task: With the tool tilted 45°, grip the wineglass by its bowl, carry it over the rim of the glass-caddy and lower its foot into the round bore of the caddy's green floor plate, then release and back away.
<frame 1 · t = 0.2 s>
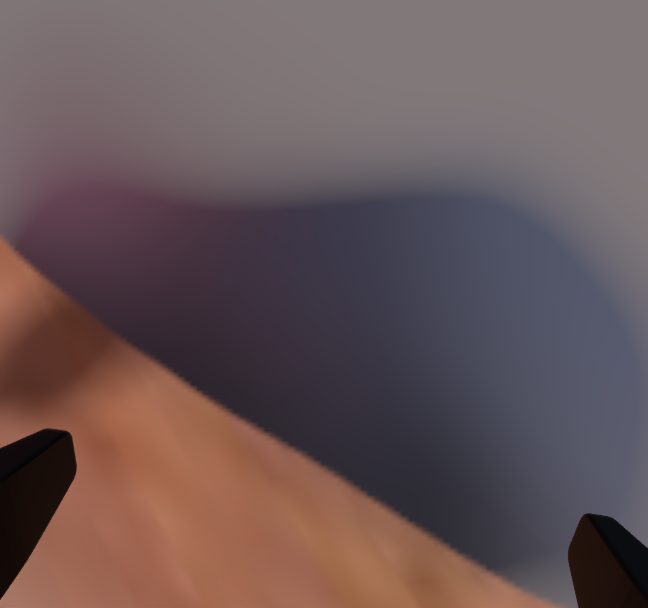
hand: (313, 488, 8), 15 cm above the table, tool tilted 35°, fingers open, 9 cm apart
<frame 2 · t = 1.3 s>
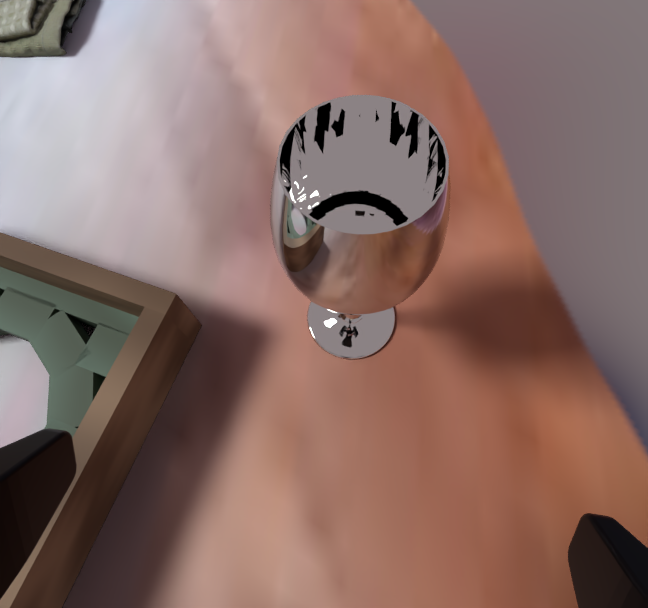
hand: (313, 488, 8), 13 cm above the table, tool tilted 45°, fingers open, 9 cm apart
wineglass: (350, 318, 24), on the table
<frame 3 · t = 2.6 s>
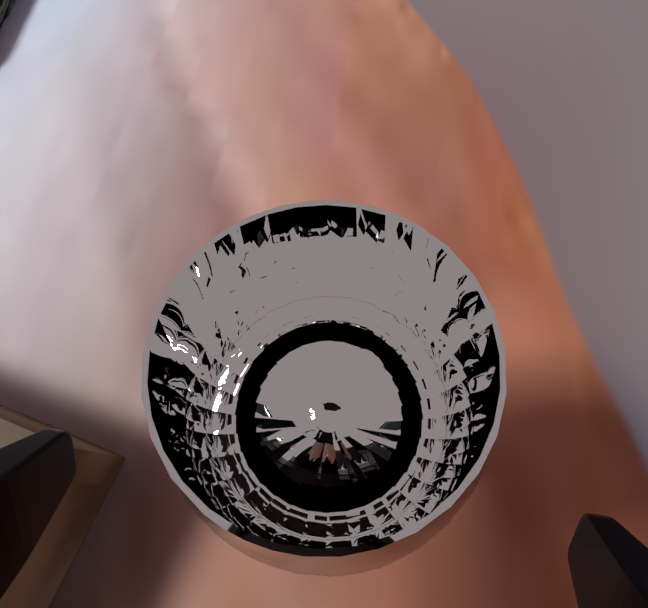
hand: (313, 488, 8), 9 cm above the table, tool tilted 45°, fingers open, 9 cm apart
wineglass: (332, 447, 17), on the table
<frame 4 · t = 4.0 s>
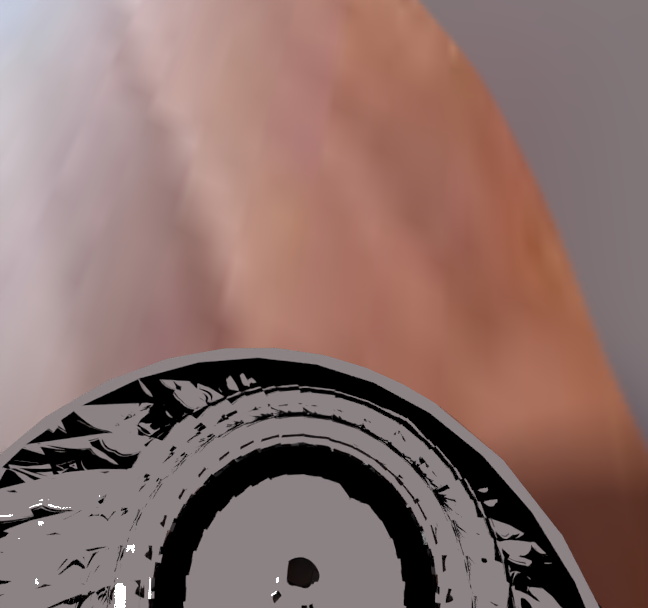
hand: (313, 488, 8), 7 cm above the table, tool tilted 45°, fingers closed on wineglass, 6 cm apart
wineglass: (317, 539, 14), on the table, touching gripper
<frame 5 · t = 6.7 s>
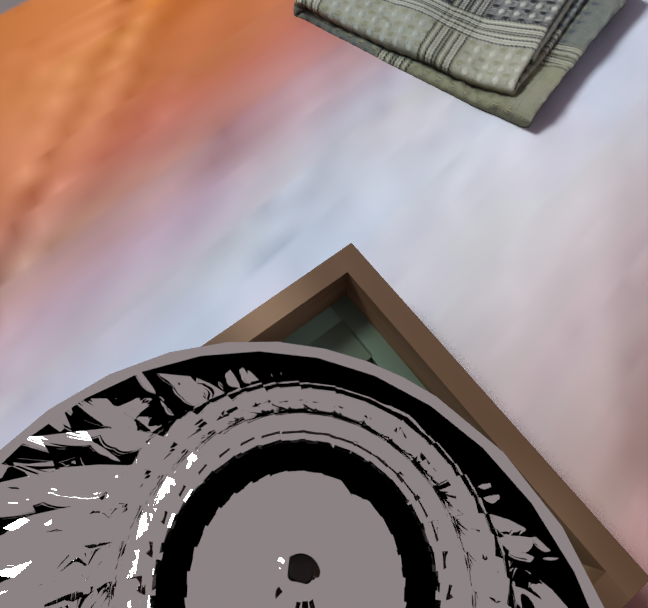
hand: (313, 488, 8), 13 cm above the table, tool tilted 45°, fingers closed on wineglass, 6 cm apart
caddy: (318, 518, 20), on the table
wineglass: (317, 537, 14), point 6 cm above the table, touching gripper
dish towel: (468, 1, 32), on the table
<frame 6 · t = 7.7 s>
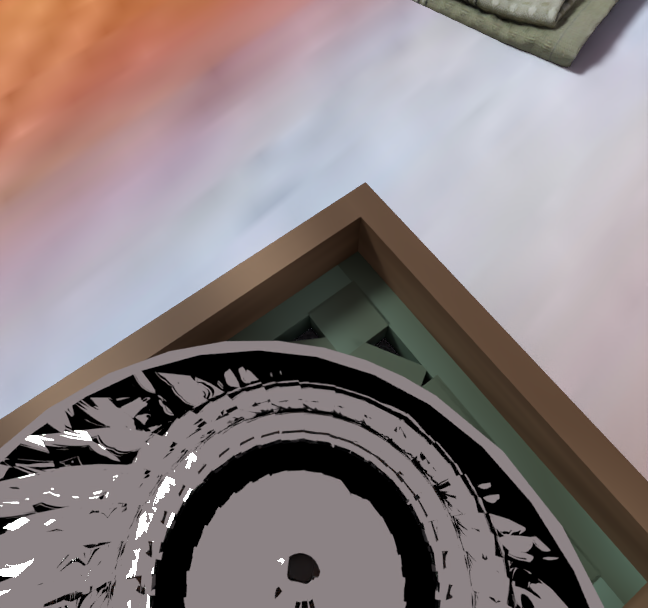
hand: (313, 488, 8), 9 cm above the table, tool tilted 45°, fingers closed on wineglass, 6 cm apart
caddy: (321, 523, 16), on the table
wineglass: (317, 537, 14), point 2 cm above the table, touching gripper
when the fingers open (8 cm above the table, at t = 8.5 s): wineglass drops 1 cm, resting in caddy.
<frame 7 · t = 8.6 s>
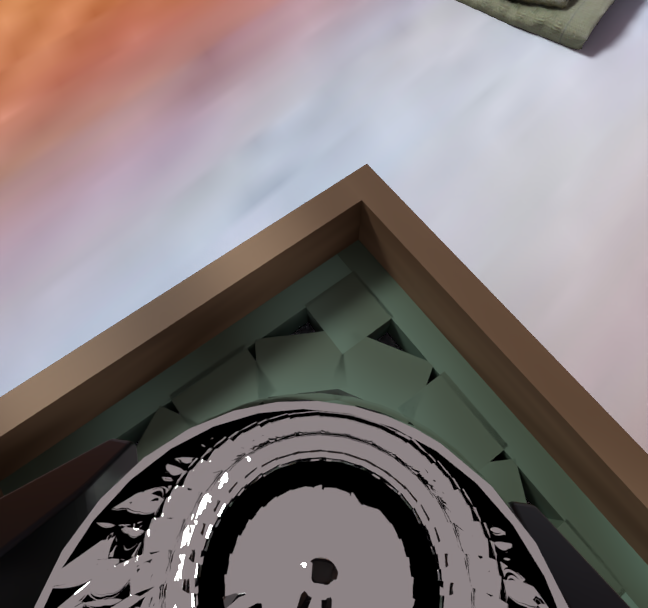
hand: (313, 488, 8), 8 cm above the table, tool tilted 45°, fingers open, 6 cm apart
caddy: (319, 532, 15), on the table
wineglass: (328, 539, 15), resting in caddy
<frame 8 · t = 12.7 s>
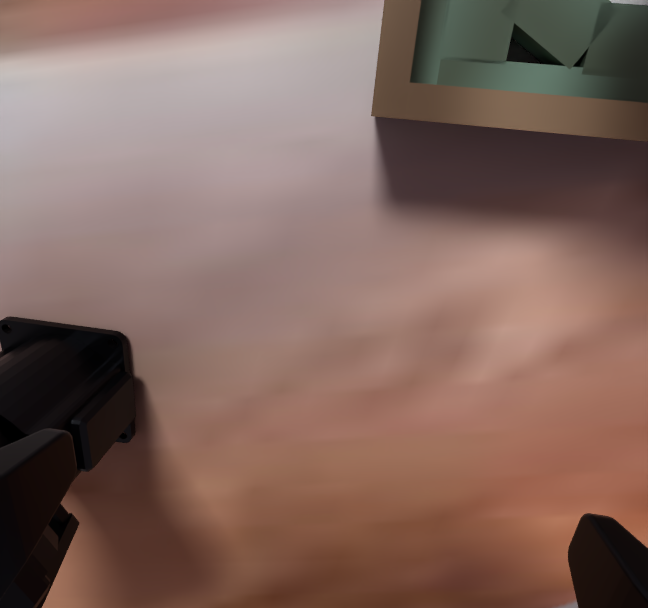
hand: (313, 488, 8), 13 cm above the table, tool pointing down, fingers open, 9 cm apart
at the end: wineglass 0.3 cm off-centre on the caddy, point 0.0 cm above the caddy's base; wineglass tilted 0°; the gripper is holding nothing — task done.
